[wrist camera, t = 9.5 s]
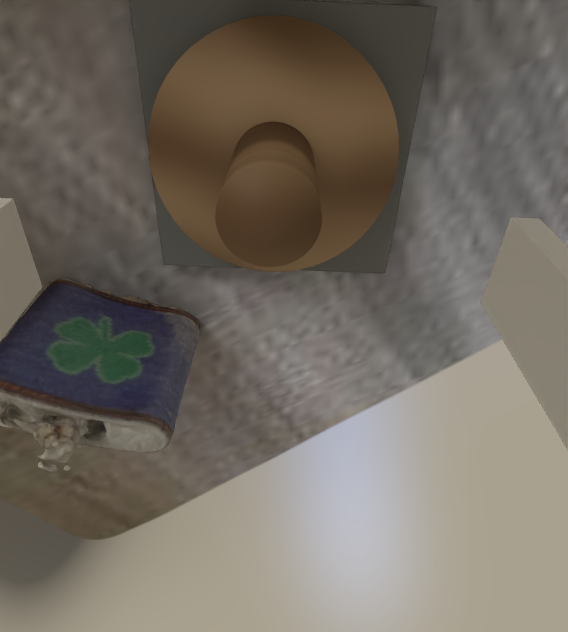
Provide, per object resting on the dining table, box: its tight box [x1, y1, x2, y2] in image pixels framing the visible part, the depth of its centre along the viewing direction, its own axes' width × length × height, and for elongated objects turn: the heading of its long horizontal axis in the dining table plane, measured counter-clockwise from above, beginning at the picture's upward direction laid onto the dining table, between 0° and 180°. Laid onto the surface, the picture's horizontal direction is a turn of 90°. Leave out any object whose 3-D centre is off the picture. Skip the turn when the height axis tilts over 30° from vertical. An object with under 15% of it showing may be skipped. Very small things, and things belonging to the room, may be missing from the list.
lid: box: [148, 15, 399, 272], centre depth 18 cm, size 11×11×7 cm
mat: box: [129, 0, 437, 273], centre depth 22 cm, size 12×12×1 cm
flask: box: [0, 278, 200, 472], centre depth 24 cm, size 9×3×11 cm, turn 71°
